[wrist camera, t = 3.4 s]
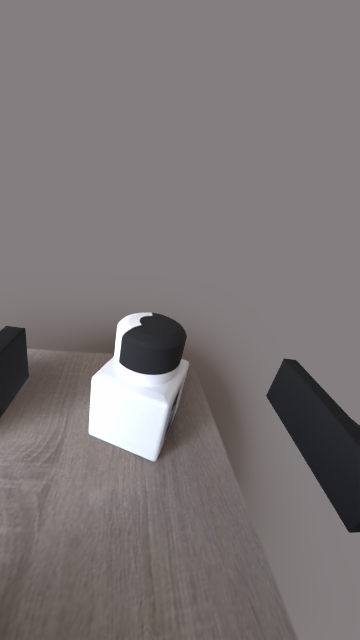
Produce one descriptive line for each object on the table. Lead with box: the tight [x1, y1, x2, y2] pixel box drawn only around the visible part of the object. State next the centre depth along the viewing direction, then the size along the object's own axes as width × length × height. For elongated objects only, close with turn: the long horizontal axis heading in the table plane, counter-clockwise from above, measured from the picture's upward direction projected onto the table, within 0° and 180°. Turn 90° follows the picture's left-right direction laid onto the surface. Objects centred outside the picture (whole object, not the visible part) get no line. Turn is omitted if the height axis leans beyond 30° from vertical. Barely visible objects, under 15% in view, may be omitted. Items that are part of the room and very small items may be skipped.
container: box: [89, 313, 189, 461], centre depth 25 cm, size 8×8×13 cm
